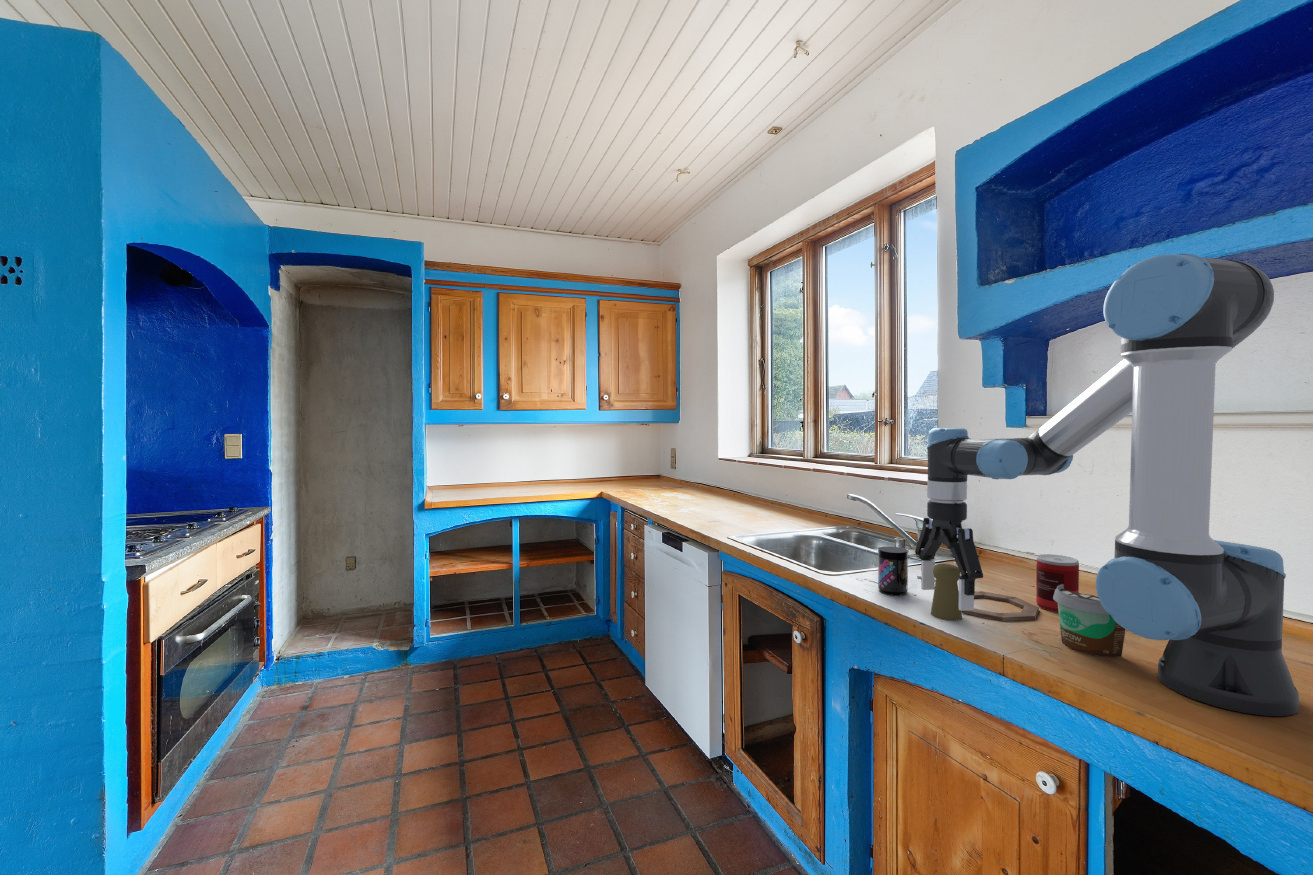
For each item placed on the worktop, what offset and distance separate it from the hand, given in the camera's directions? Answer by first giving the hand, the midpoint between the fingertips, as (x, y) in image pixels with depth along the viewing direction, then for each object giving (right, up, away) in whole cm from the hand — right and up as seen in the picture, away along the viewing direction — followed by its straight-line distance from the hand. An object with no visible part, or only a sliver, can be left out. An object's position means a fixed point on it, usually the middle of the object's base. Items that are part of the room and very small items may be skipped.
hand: (945, 599), depth 120 cm
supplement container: (-4, -3, +17) cm, 18 cm away
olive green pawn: (0, -4, 0) cm, 4 cm away
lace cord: (+10, -3, +21) cm, 24 cm away
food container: (+16, -4, -18) cm, 24 cm away
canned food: (+27, -3, +4) cm, 27 cm away
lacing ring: (+13, -3, +5) cm, 14 cm away
